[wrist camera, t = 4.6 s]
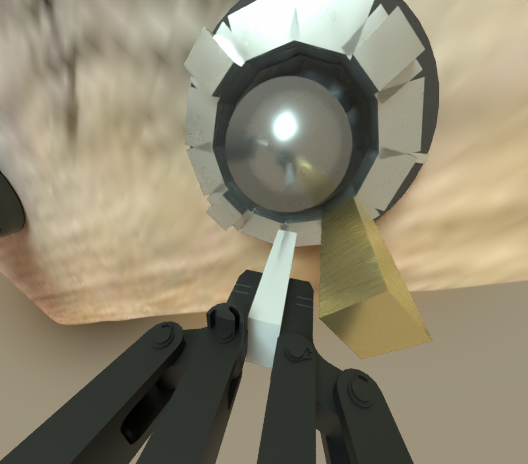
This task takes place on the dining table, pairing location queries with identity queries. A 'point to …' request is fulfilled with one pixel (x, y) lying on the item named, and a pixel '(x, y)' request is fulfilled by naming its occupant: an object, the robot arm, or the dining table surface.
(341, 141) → the housing
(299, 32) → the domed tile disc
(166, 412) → the robot arm
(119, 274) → the dining table surface
